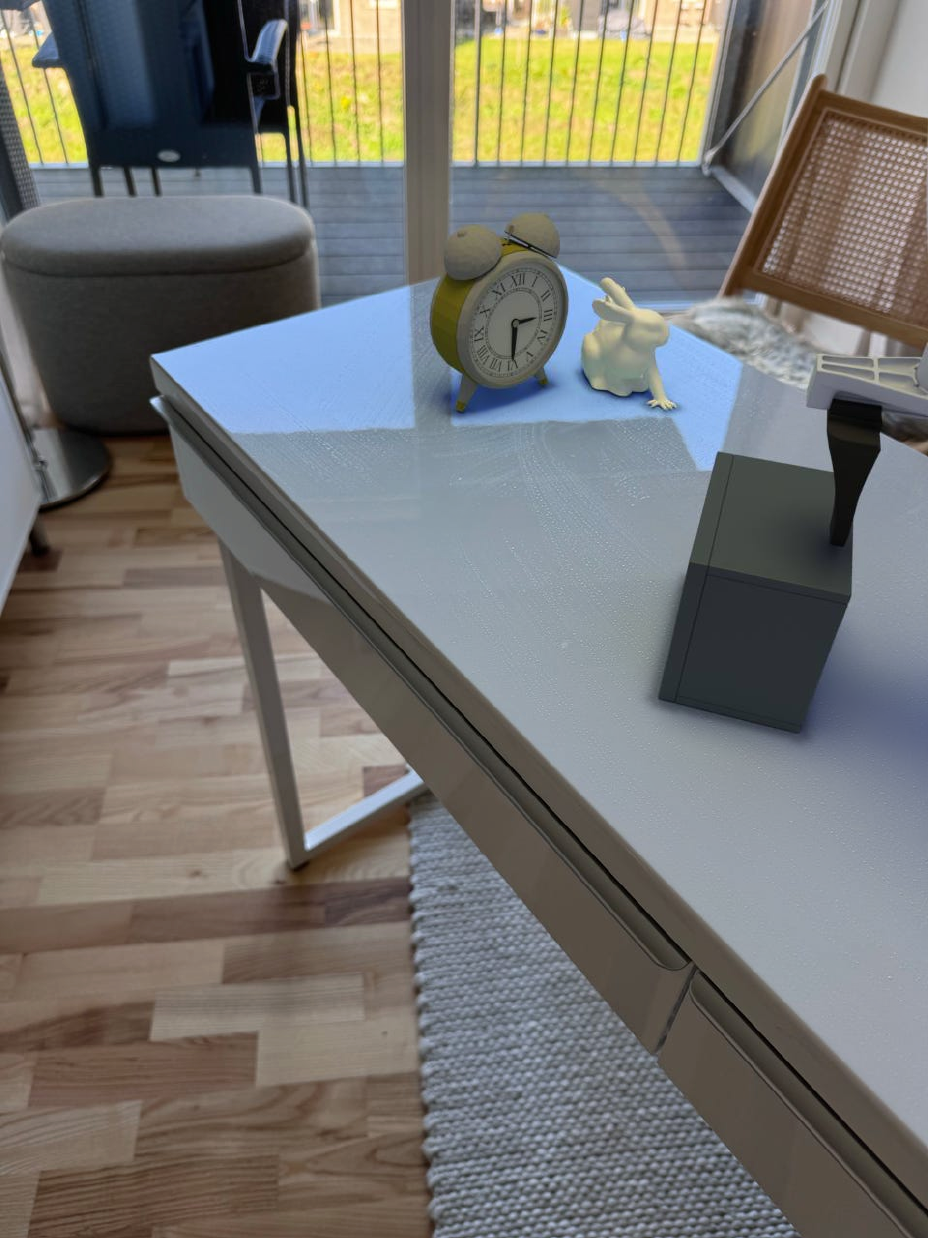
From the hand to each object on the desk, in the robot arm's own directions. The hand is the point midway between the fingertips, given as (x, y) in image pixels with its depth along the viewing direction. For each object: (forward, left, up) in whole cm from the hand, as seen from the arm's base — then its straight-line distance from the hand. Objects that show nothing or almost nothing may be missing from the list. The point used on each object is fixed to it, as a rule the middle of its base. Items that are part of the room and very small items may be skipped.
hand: (913, 550), depth 47 cm
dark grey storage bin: (+7, -2, -10) cm, 13 cm away
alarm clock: (+32, -30, -11) cm, 45 cm away
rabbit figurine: (+22, -35, -11) cm, 42 cm away
